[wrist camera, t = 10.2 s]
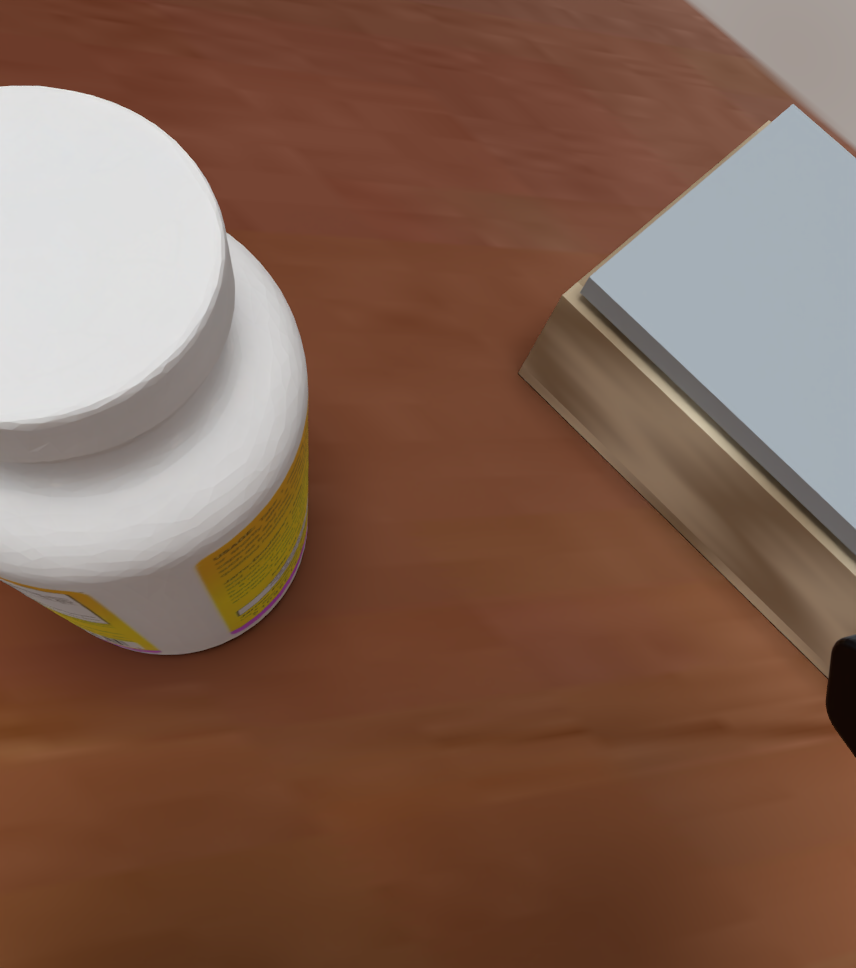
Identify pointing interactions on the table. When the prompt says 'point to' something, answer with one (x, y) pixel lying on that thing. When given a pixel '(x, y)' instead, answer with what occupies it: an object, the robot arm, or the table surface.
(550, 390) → the wooden box
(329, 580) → the table surface
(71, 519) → the supplement bottle
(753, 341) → the lid
